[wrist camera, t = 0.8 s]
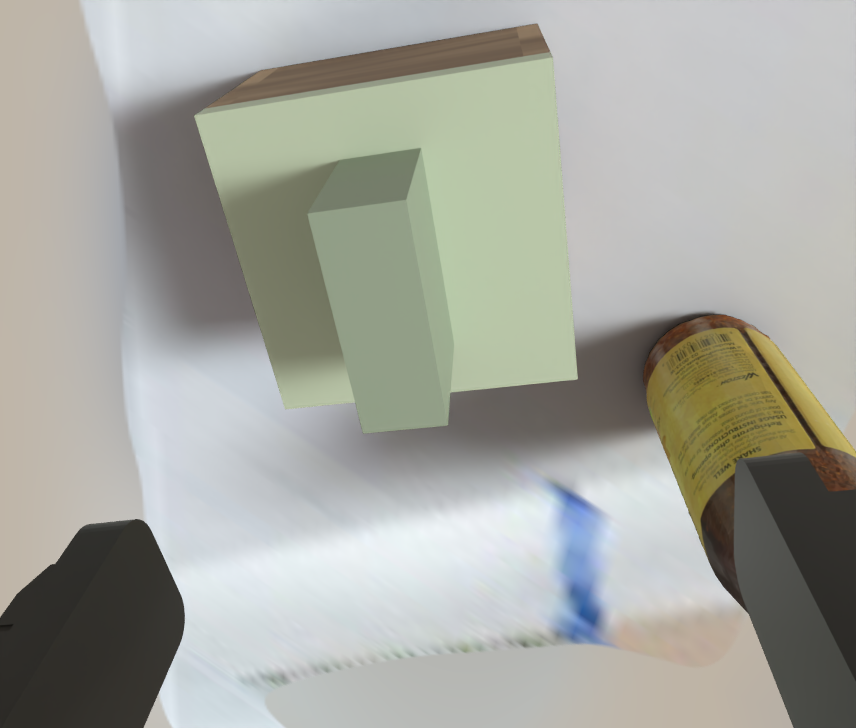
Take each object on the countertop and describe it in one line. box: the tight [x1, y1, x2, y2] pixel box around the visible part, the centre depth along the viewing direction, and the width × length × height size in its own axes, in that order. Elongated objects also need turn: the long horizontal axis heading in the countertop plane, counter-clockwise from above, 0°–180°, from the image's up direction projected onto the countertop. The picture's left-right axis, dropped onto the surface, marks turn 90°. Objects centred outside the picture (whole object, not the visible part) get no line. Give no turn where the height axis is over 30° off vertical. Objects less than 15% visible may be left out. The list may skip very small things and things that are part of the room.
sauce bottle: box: [643, 315, 856, 614], centre depth 27 cm, size 6×6×20 cm
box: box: [206, 24, 550, 108], centre depth 29 cm, size 11×11×7 cm
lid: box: [194, 52, 578, 434], centre depth 24 cm, size 11×11×7 cm
